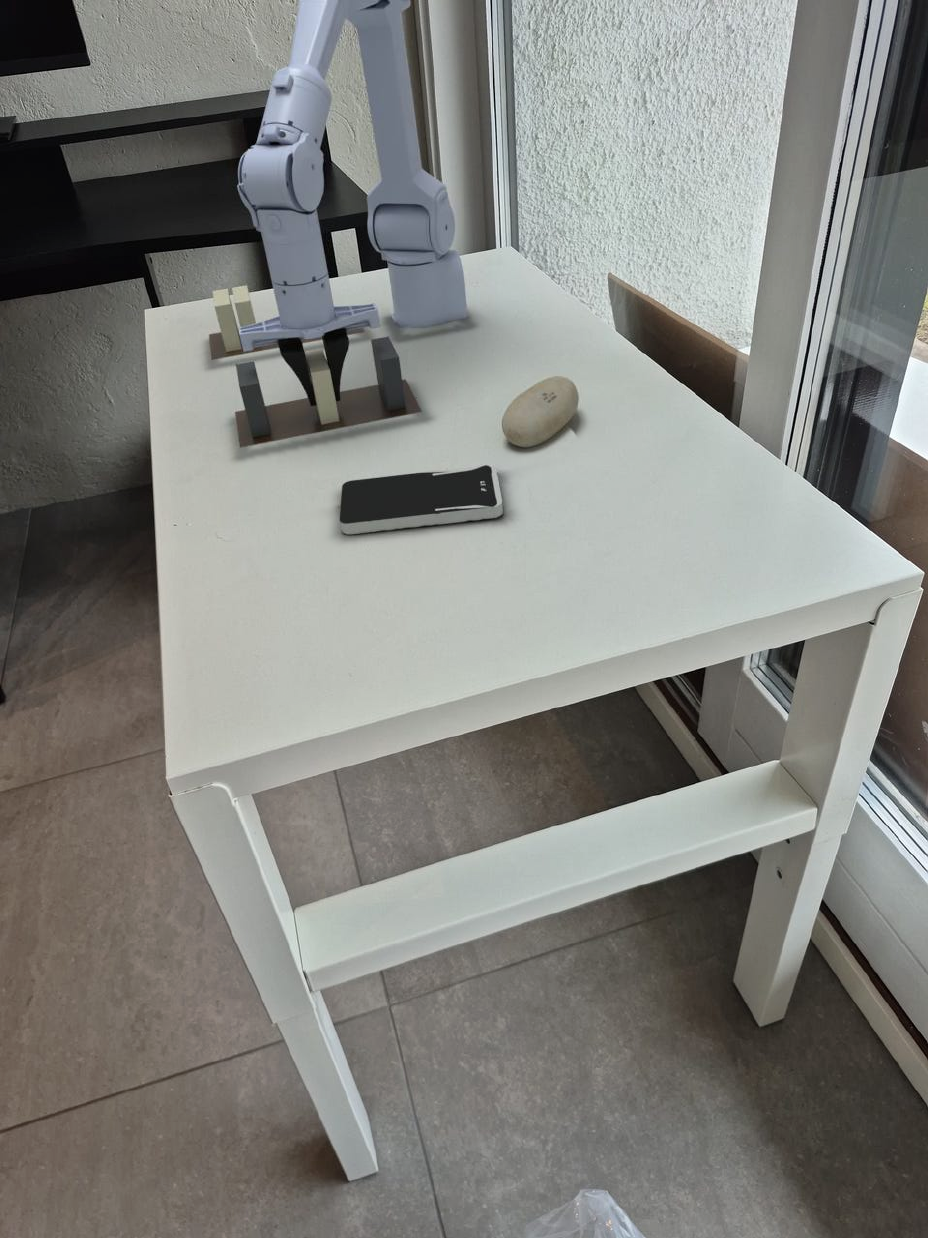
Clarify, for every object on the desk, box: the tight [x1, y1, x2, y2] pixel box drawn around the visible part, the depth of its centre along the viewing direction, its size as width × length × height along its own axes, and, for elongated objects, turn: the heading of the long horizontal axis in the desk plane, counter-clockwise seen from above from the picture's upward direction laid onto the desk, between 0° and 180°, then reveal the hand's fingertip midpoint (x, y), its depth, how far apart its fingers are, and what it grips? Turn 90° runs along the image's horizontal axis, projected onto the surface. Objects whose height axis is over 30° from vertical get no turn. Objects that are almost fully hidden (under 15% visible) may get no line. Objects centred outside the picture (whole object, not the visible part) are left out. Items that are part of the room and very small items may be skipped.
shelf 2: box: [234, 378, 423, 449], centre depth 101 cm, size 20×9×1 cm, turn 105°
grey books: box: [235, 336, 406, 438], centre depth 99 cm, size 17×6×6 cm, turn 105°
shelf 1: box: [208, 328, 366, 361], centre depth 120 cm, size 20×9×1 cm, turn 105°
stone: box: [501, 375, 580, 449], centre depth 93 cm, size 6×6×12 cm
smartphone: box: [339, 464, 504, 536], centre depth 85 cm, size 8×1×15 cm
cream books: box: [212, 284, 257, 352], centre depth 117 cm, size 4×6×6 cm
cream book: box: [305, 348, 339, 425], centre depth 99 cm, size 2×6×6 cm, turn 14°
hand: (324, 399), depth 100 cm, fingers closed on cream book, 2 cm apart
